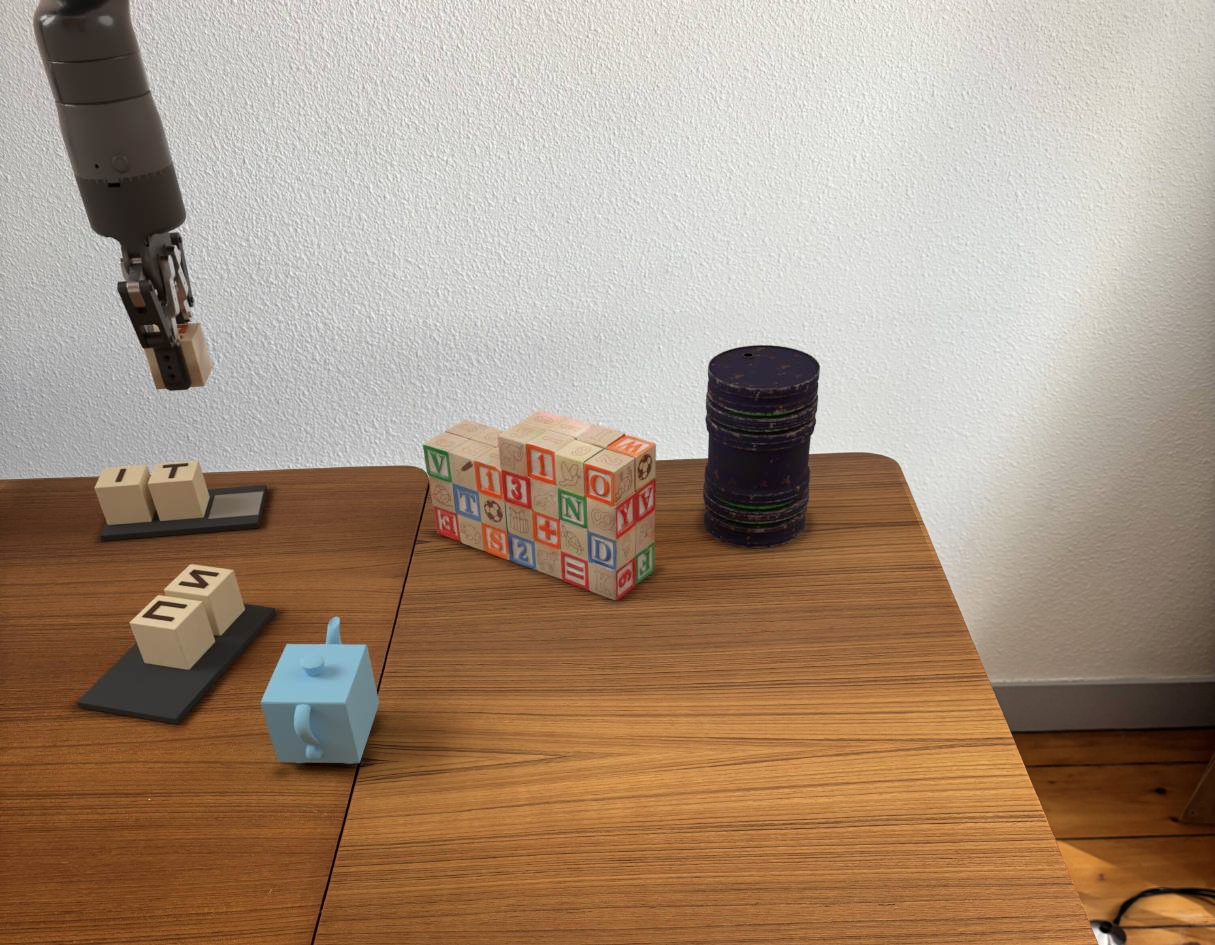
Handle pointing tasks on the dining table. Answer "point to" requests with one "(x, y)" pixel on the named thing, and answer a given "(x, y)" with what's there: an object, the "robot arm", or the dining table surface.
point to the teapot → (321, 701)
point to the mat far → (172, 502)
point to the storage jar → (759, 444)
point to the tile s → (186, 355)
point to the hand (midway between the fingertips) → (184, 376)
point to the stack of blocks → (550, 498)
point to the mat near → (179, 647)
